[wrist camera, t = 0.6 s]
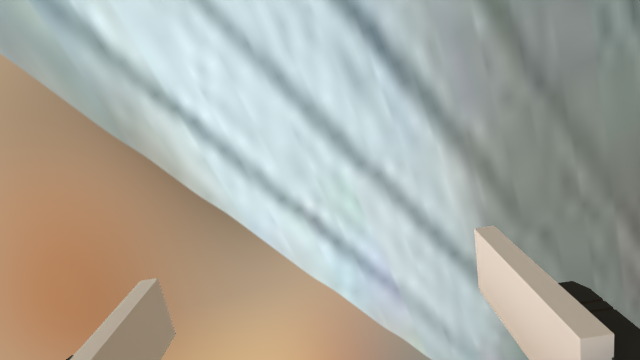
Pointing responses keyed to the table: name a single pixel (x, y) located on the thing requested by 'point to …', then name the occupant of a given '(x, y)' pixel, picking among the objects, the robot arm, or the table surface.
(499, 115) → the table surface
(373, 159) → the table surface
